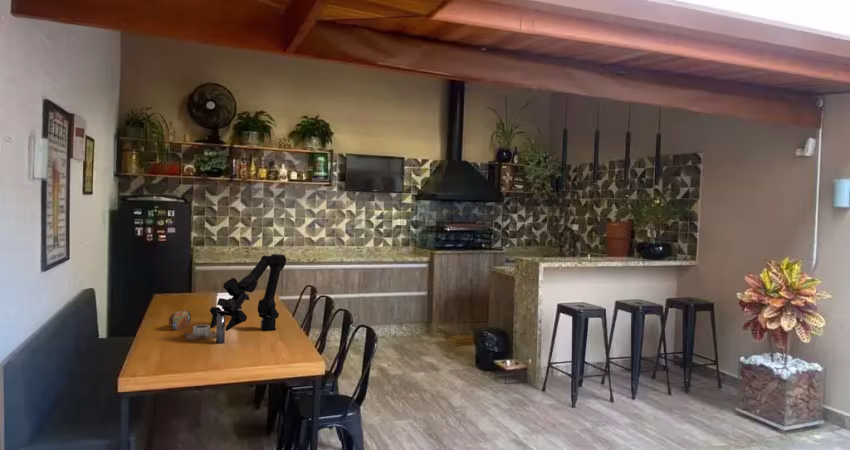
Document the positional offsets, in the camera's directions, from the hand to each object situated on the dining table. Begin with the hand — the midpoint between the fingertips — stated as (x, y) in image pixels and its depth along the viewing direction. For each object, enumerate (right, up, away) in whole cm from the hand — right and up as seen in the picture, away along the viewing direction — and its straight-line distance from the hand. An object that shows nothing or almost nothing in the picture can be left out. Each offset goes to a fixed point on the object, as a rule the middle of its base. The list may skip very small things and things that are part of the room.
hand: (218, 329), depth 255 cm
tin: (-30, -5, +29) cm, 42 cm away
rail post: (0, -7, +1) cm, 7 cm away
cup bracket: (-13, -6, +12) cm, 19 cm away
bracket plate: (-13, -6, +12) cm, 19 cm away
